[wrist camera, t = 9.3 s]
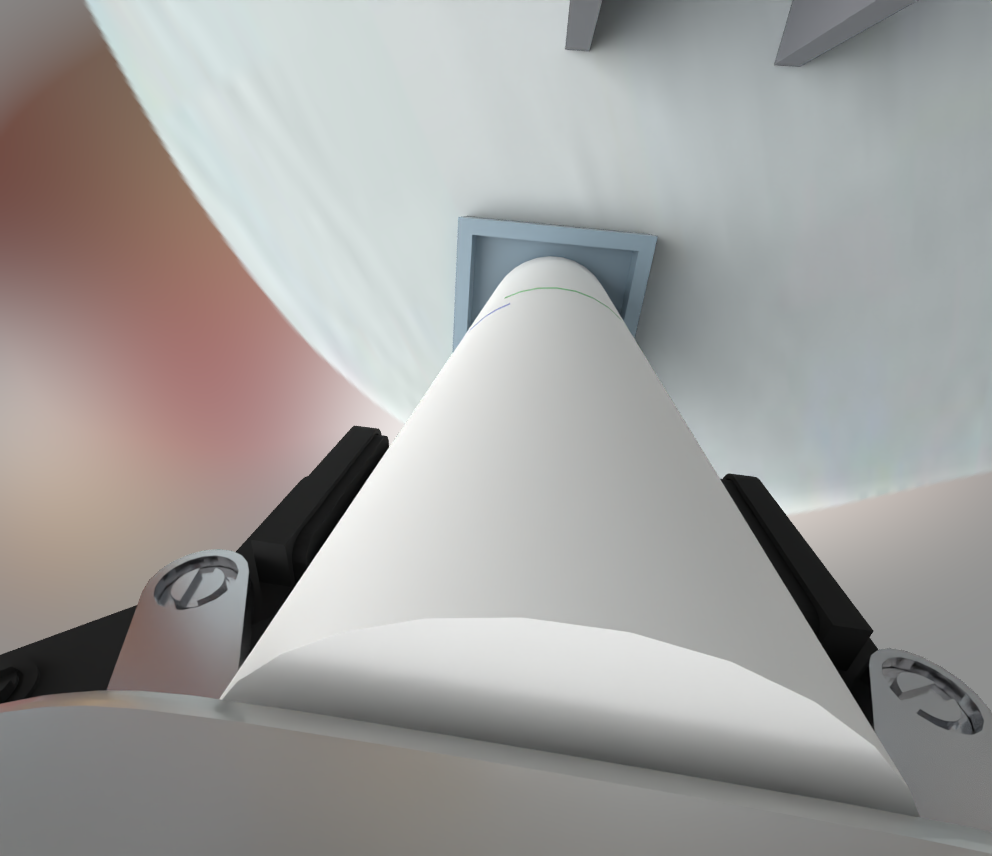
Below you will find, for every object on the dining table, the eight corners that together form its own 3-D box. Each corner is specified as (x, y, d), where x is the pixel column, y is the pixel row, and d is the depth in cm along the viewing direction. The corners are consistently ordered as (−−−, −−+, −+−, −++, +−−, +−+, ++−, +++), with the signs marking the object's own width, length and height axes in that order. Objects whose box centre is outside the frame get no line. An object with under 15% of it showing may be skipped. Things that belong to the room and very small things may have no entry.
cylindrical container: (465, 303, 27) (65, 756, 5) (568, 228, 25) (711, 446, 2) (531, 396, 29) (463, 1004, 7) (631, 336, 27) (1015, 972, 5)
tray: (648, 234, 26) (657, 236, 24) (611, 403, 31) (616, 418, 28) (465, 216, 26) (458, 217, 24) (457, 385, 31) (450, 398, 29)
